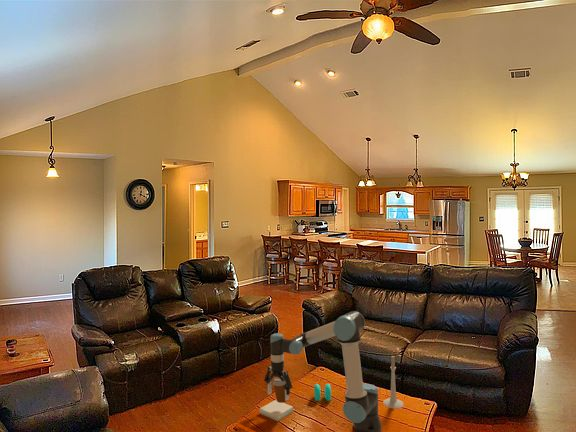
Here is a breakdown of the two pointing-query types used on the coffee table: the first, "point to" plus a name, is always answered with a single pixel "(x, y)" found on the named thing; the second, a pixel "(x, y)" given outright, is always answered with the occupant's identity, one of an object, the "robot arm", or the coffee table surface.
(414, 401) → the coffee table surface
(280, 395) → the disposable coffee cup
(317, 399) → the teal wheels on axle
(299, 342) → the robot arm
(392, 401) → the candlestick
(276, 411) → the plinth
